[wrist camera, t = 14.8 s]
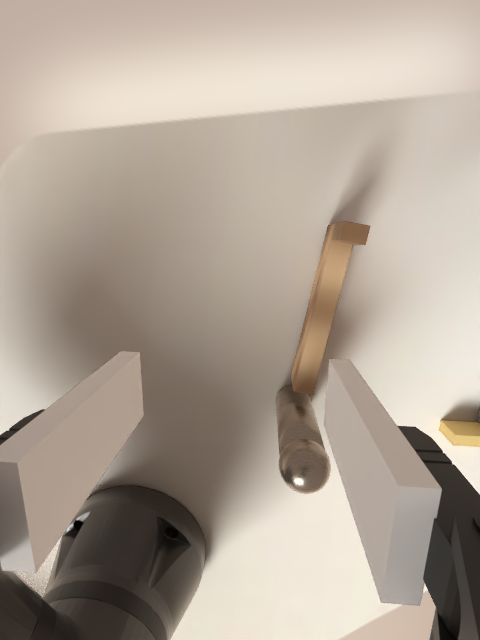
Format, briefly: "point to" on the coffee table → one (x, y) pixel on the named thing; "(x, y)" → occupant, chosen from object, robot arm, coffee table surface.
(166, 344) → the coffee table surface
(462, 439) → the post
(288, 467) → the hinge post
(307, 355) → the gate
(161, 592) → the robot arm
